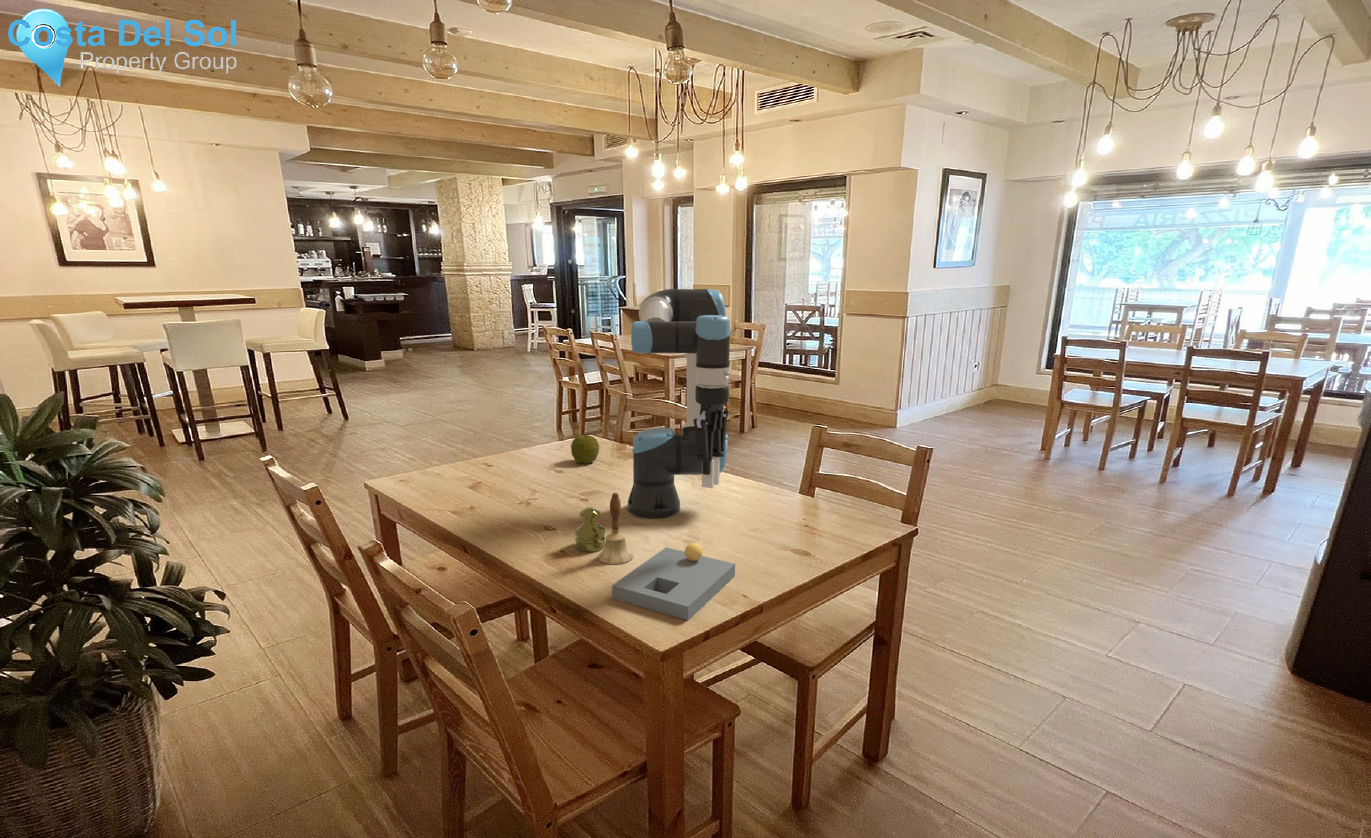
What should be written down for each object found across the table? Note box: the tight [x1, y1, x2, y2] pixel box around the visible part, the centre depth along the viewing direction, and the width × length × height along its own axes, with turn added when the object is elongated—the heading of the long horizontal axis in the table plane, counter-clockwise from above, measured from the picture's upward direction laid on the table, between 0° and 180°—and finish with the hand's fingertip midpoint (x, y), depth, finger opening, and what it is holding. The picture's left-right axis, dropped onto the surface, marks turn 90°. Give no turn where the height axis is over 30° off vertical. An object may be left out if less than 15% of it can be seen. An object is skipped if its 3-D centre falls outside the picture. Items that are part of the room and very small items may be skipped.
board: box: [611, 547, 736, 621], centre depth 140 cm, size 18×22×3 cm
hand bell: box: [598, 492, 634, 565], centre depth 153 cm, size 8×8×16 cm
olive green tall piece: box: [574, 506, 606, 553], centre depth 160 cm, size 7×8×10 cm
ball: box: [684, 542, 703, 561], centre depth 146 cm, size 4×4×4 cm
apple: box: [570, 432, 600, 464], centre depth 231 cm, size 10×10×11 cm
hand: (710, 485), depth 150 cm, fingers open, 2 cm apart
